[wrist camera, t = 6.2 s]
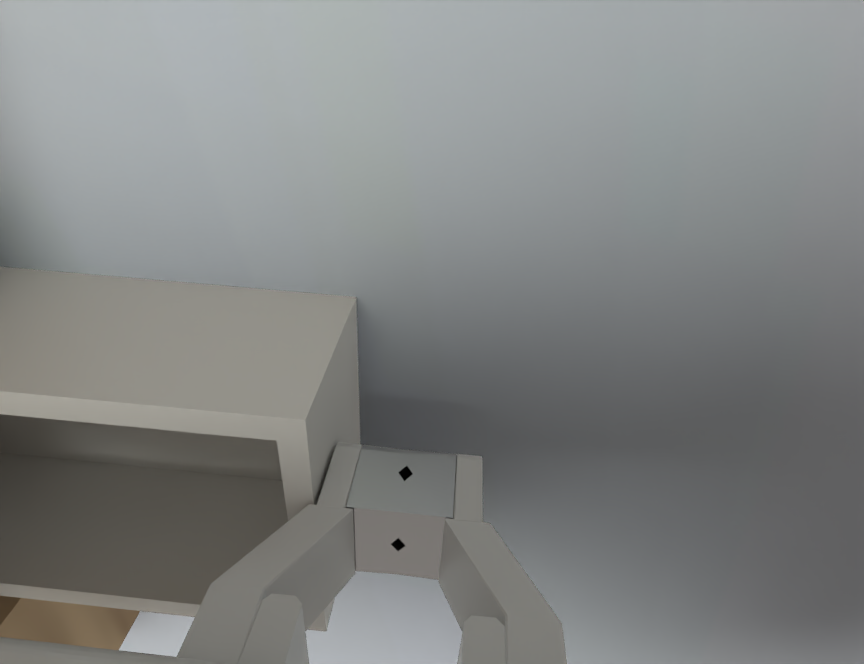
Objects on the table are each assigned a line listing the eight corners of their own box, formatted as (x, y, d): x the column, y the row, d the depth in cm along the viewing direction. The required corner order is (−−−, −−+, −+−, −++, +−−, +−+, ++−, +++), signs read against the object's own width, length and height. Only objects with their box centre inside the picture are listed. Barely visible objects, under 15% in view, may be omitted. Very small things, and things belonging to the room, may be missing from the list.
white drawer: (356, 295, 12) (305, 419, 8) (362, 486, 15) (326, 631, 12) (-255, 244, 12) (-536, 340, 9) (-122, 438, 15) (-291, 563, 12)
